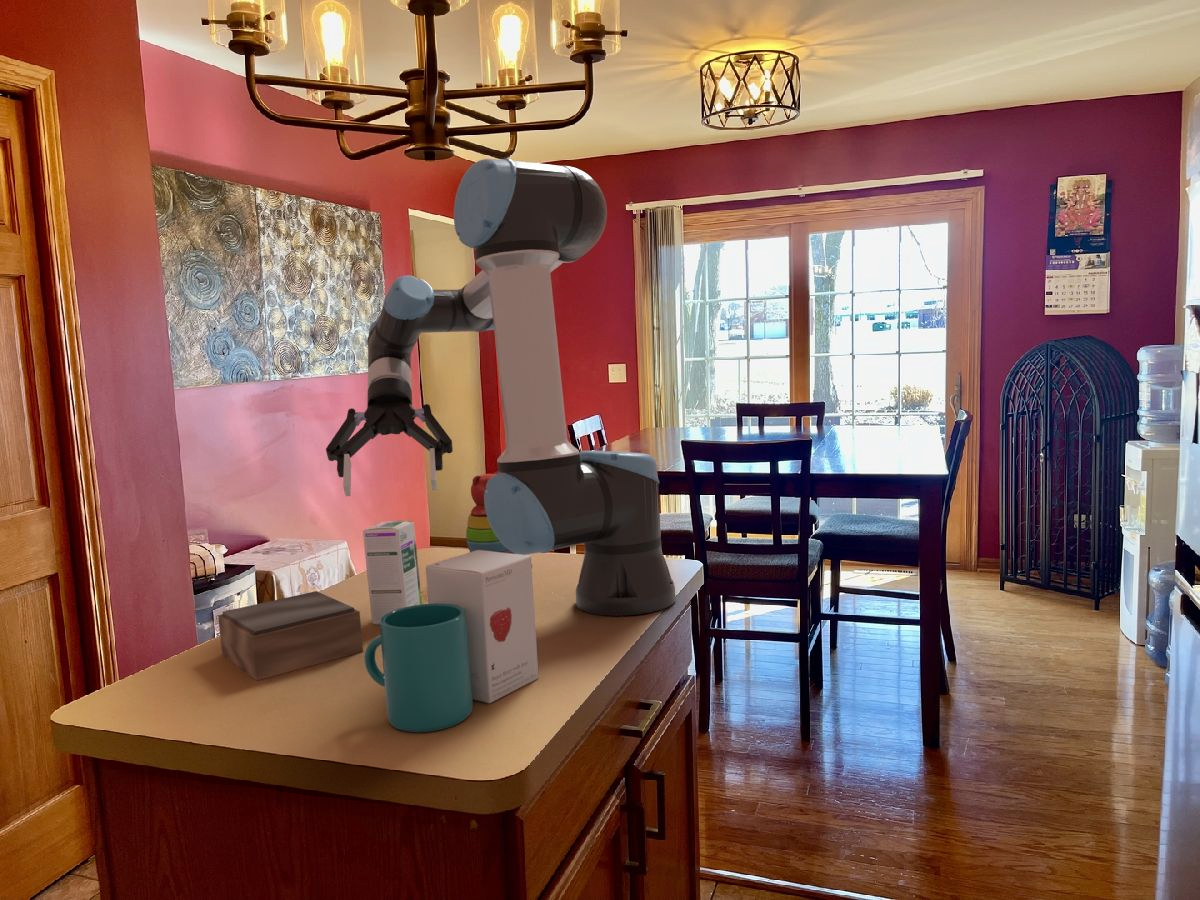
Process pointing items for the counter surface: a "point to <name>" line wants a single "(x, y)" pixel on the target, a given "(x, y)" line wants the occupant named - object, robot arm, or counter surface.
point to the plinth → (289, 634)
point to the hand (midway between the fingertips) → (390, 488)
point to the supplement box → (492, 617)
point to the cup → (424, 666)
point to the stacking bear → (481, 521)
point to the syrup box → (391, 567)
